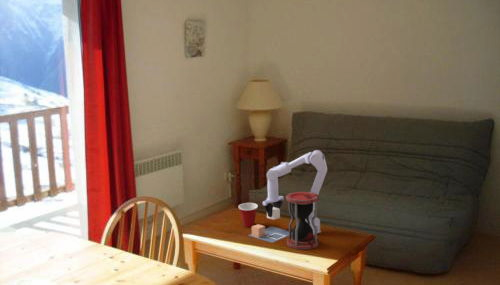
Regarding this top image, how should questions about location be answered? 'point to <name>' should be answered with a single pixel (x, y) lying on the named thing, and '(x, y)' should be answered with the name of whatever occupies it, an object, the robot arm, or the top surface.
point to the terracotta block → (258, 230)
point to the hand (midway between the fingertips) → (273, 215)
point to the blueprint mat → (273, 234)
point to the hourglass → (302, 220)
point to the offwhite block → (275, 213)
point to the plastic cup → (248, 213)
